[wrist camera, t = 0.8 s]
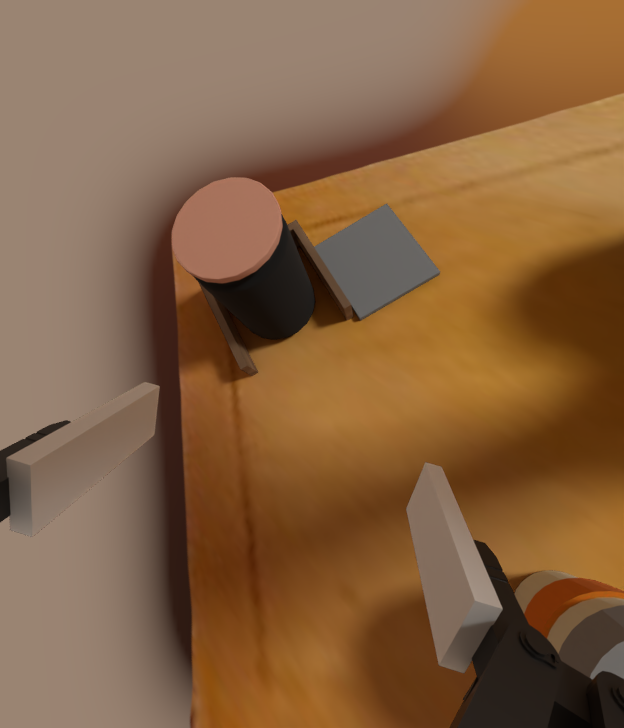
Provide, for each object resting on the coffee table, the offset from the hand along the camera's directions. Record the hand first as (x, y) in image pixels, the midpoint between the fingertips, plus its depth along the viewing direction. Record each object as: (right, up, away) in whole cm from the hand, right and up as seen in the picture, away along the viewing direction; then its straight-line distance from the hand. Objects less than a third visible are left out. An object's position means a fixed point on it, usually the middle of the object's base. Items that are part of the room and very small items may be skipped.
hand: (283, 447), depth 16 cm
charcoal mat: (+10, +18, +30) cm, 37 cm away
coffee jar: (-3, +12, +31) cm, 34 cm away
